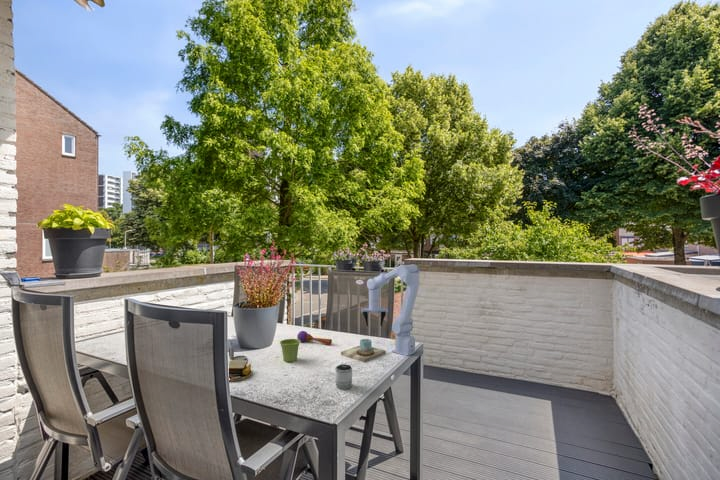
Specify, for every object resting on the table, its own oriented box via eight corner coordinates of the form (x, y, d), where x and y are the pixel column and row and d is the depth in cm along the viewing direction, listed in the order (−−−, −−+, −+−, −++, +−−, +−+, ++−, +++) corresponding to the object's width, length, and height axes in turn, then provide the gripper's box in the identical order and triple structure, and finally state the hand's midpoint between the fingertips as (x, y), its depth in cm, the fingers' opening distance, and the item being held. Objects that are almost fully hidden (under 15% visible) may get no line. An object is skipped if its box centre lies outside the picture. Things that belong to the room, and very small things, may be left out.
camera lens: (339, 382, 136) (339, 362, 136) (354, 384, 133) (354, 364, 133) (332, 388, 130) (332, 367, 130) (347, 391, 127) (347, 370, 127)
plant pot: (275, 360, 160) (275, 341, 160) (292, 355, 167) (292, 337, 167) (287, 365, 154) (287, 345, 154) (304, 359, 161) (304, 341, 161)
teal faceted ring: (373, 348, 173) (373, 340, 173) (366, 351, 169) (366, 342, 169) (365, 346, 177) (365, 338, 177) (357, 348, 173) (357, 340, 173)
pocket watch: (249, 358, 162) (249, 337, 162) (236, 364, 154) (236, 342, 154) (236, 356, 165) (236, 335, 165) (222, 362, 158) (222, 340, 158)
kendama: (327, 339, 181) (295, 332, 188) (327, 350, 182) (295, 342, 189) (332, 334, 186) (300, 328, 193) (333, 344, 187) (301, 338, 195)
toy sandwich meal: (214, 382, 136) (214, 370, 136) (228, 369, 149) (228, 358, 149) (245, 383, 135) (245, 371, 135) (257, 370, 149) (257, 359, 149)
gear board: (385, 353, 170) (385, 342, 170) (364, 362, 158) (364, 350, 158) (362, 347, 180) (362, 336, 180) (340, 354, 168) (341, 343, 168)
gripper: (386, 299, 192) (386, 323, 192) (360, 299, 191) (360, 324, 191) (388, 301, 185) (388, 326, 185) (361, 301, 184) (361, 327, 184)
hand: (374, 325), depth 188 cm, fingers open, 7 cm apart
